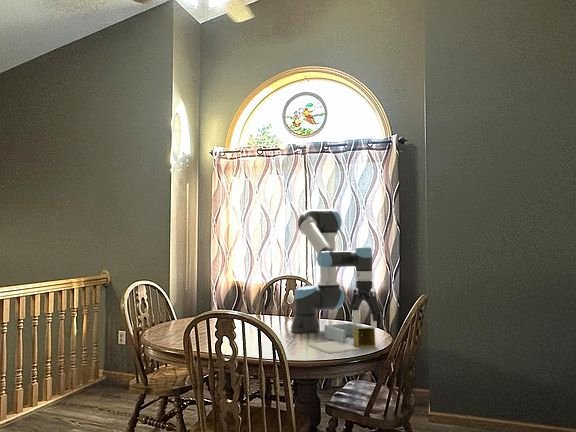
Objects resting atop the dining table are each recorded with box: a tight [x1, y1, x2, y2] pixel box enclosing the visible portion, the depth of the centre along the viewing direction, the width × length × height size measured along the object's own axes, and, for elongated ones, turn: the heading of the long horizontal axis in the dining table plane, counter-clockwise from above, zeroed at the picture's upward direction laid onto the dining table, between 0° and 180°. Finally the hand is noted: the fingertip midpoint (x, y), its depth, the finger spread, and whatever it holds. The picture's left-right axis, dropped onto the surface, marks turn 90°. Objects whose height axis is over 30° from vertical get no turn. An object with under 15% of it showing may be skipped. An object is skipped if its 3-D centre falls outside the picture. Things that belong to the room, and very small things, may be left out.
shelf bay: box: [324, 322, 366, 344], centre depth 257 cm, size 16×15×6 cm
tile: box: [307, 340, 360, 354], centre depth 239 cm, size 18×16×1 cm
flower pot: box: [352, 326, 376, 349], centre depth 244 cm, size 9×9×9 cm
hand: (364, 326), depth 244 cm, fingers open, 13 cm apart
